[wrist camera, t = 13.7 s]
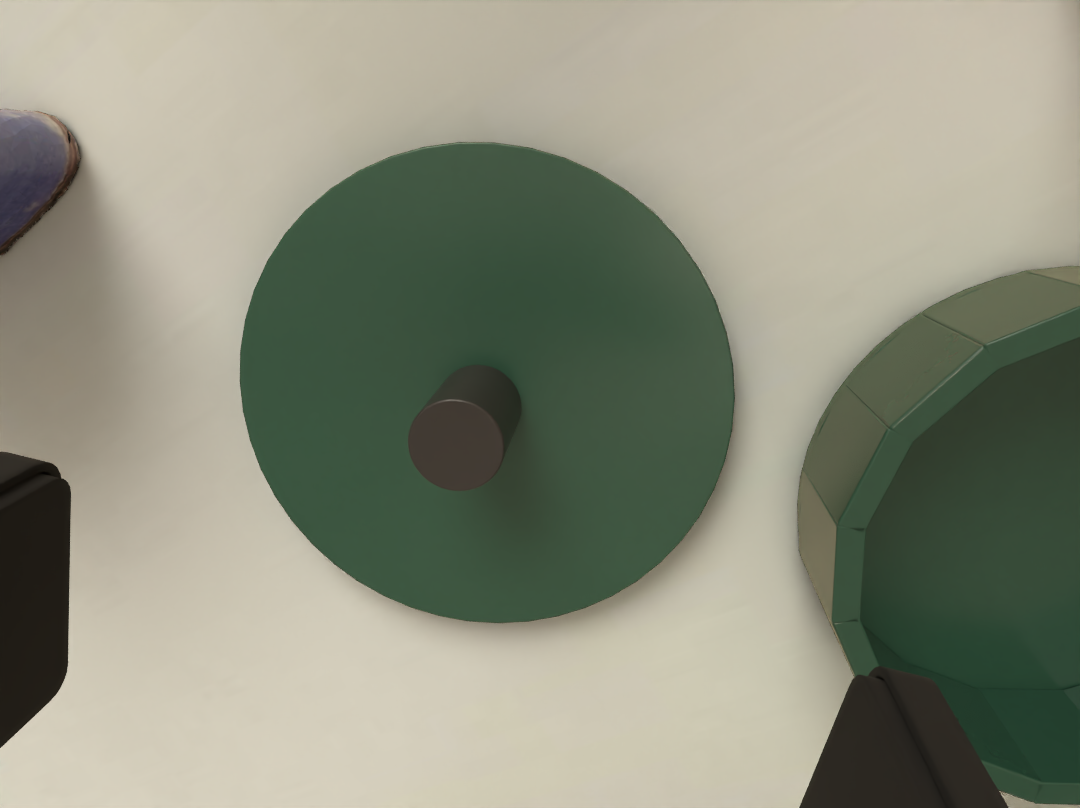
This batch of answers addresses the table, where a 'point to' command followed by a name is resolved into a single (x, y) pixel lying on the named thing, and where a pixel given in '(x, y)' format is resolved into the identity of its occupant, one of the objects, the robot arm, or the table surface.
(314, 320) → the lid
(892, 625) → the tin
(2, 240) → the flask
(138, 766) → the table surface
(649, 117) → the table surface
